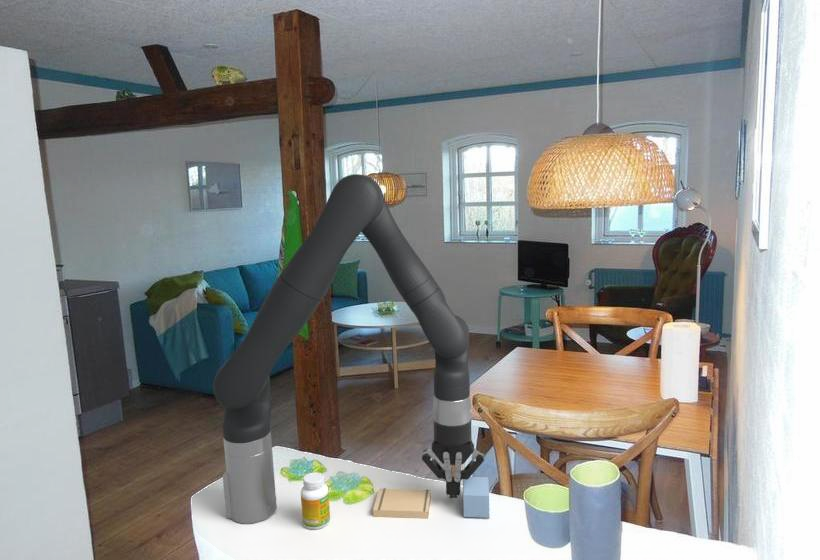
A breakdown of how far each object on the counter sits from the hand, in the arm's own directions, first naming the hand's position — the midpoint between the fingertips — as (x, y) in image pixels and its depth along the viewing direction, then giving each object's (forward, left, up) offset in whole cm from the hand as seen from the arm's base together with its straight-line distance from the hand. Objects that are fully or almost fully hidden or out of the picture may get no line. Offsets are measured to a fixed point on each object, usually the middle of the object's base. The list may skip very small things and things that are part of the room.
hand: (453, 495), depth 121 cm
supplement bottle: (-27, -7, -3) cm, 28 cm away
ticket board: (-11, 0, -3) cm, 11 cm away
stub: (+5, 0, -2) cm, 5 cm away
